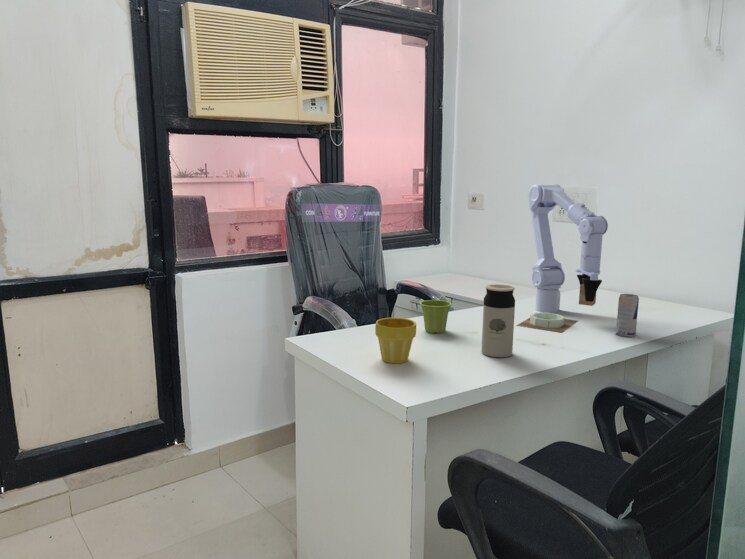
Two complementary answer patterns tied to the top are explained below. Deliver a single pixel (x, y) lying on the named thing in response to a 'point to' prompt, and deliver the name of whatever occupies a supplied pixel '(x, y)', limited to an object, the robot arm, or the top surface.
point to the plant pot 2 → (435, 315)
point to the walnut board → (567, 324)
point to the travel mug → (498, 320)
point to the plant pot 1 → (395, 338)
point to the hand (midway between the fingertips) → (587, 299)
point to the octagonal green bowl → (547, 320)
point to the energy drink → (627, 315)
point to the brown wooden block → (582, 297)
